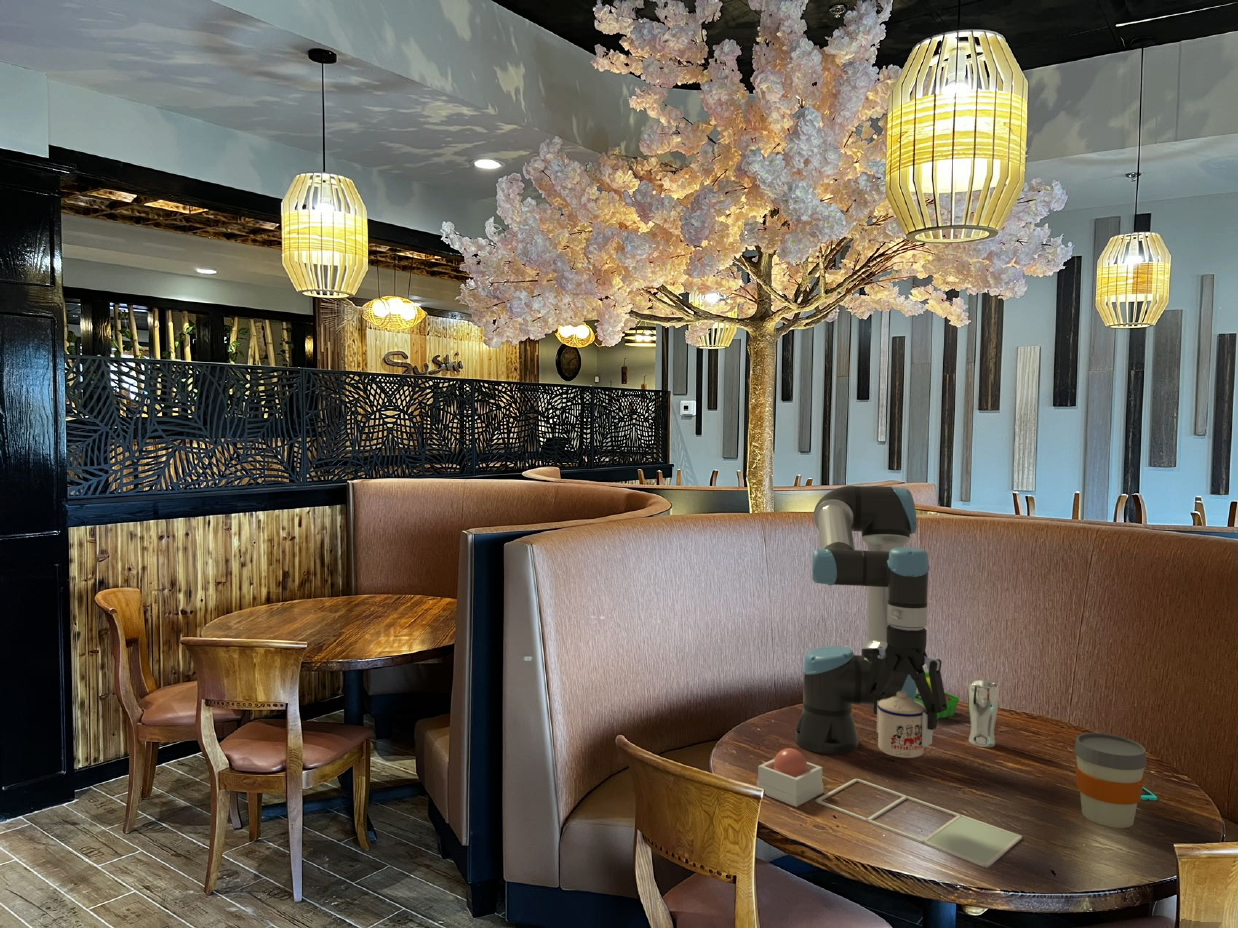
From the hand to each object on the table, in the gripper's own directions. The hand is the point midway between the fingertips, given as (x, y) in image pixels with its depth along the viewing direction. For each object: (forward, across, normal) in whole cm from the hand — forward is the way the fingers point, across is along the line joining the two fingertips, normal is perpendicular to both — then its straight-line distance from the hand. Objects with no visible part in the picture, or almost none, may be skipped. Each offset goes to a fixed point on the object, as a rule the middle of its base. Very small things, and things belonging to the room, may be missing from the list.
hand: (903, 737), depth 167 cm
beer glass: (+16, -7, +52) cm, 54 cm away
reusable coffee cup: (+16, +28, +31) cm, 45 cm away
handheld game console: (+16, +23, +50) cm, 58 cm away
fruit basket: (+15, -25, +62) cm, 69 cm away
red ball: (+14, -21, -8) cm, 27 cm away
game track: (+16, +2, +1) cm, 16 cm away
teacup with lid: (+2, +1, 0) cm, 3 cm away
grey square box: (+16, -22, -8) cm, 28 cm away
